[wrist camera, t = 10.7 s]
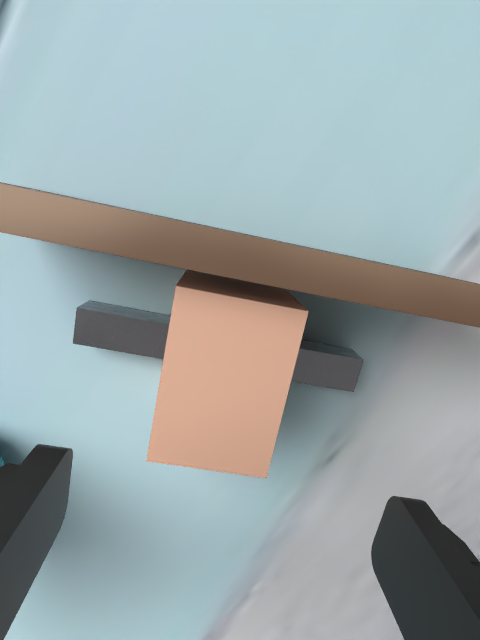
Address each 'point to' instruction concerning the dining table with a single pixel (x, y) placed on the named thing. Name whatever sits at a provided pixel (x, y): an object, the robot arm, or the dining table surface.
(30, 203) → the wall board
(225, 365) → the cabinet block
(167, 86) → the dining table surface
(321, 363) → the rail
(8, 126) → the dining table surface
